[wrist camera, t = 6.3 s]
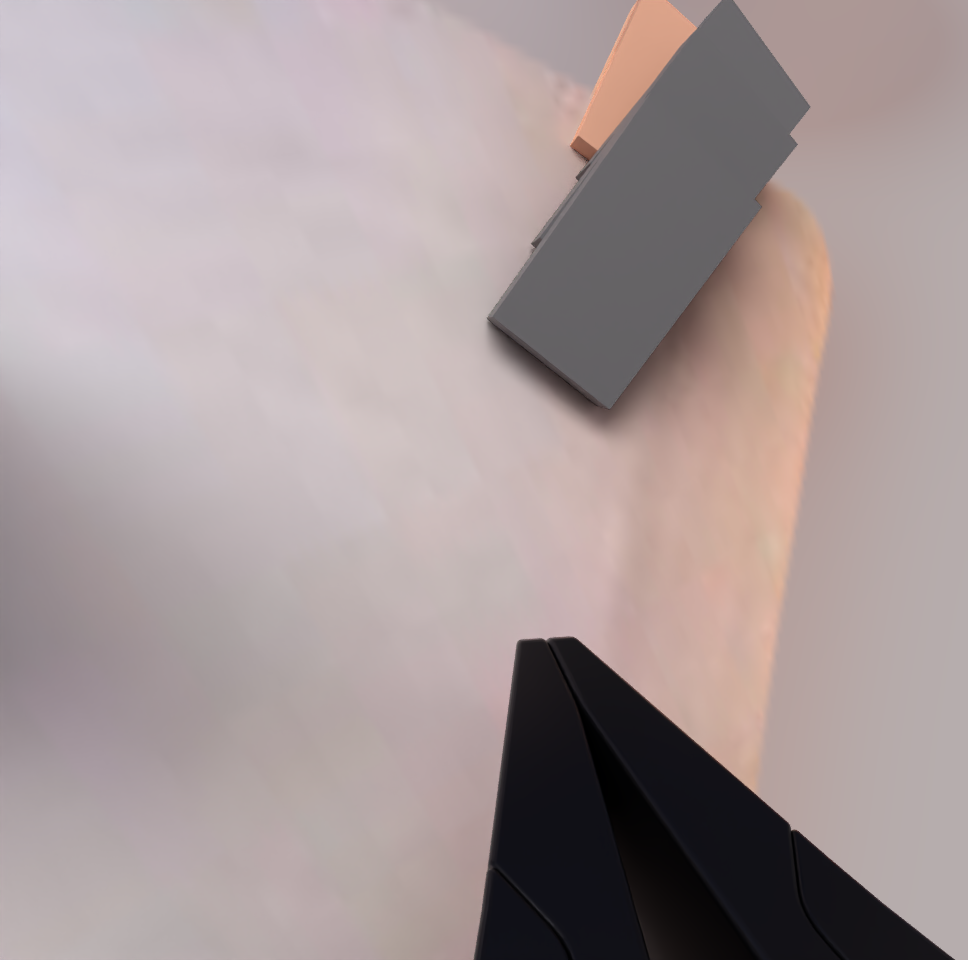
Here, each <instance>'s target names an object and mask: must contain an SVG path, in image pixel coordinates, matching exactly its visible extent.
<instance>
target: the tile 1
mask: <svg viewBox="0 0 968 960" xmlns="http://www.w3.org/2000/svg"><path fill="white" fill-rule="evenodd" d="M761 207H762V206H761V205H760V204H759V203H758V202H757V201H756V200H755V199H754V198H753V197H752V196H751V195H750V194H749V193H748V192H747V191H746V190H745V189H744V188H743V187H742V186H741V185H740V184H739V183H738V182H737V181H736V180H735V179H734V178H733V177H732V175H731V174H730V173H729V172H728V171H727V170H726V169H725V168H724V167H723V166H722V165H721V164H720V163H719V162H718V161H717V160H716V159H715V158H714V157H713V156H712V155H711V154H710V153H709V152H708V151H707V150H706V149H705V148H704V147H703V146H702V145H701V144H700V142H699V141H698V140H697V139H696V138H695V137H694V136H693V135H692V134H691V133H690V132H689V131H688V130H687V129H686V128H685V127H684V126H683V125H682V124H681V123H680V122H679V121H678V120H677V119H676V118H675V117H674V116H673V115H672V114H671V113H670V112H669V111H668V109H667V108H666V107H665V106H664V105H663V104H662V103H661V102H660V101H659V100H658V99H657V98H656V97H655V96H654V95H653V94H652V93H650V94H649V95H648V96H647V97H646V98H645V99H644V100H643V101H642V102H641V103H640V104H639V105H638V106H637V107H636V108H635V109H634V110H633V112H632V113H631V115H630V116H629V117H628V119H627V120H626V122H625V123H624V124H623V126H622V127H621V129H620V130H619V132H618V133H617V134H616V136H615V137H614V139H613V140H612V141H611V143H610V144H609V146H608V147H607V148H606V150H605V151H604V153H603V154H602V156H601V157H600V158H599V160H598V161H597V163H596V164H595V165H594V167H593V168H592V170H591V171H590V173H589V174H588V175H587V177H586V178H585V180H584V181H583V182H582V184H581V185H580V187H579V188H578V190H577V191H576V192H575V194H574V195H573V197H572V198H571V199H570V201H569V202H568V204H567V205H566V207H565V208H564V209H563V211H562V212H561V214H560V215H559V216H558V218H557V219H556V221H555V222H554V224H553V225H552V226H551V228H550V229H549V231H548V232H547V233H546V235H545V236H544V238H543V239H542V241H541V242H540V243H539V245H538V246H537V248H536V249H535V250H534V252H533V253H532V255H531V256H530V258H529V259H528V260H527V262H526V263H525V265H524V266H523V267H522V269H521V270H520V272H519V273H518V275H517V276H516V277H515V279H514V280H513V282H512V283H511V284H510V286H509V287H508V289H507V290H506V292H505V293H504V294H503V296H502V297H501V299H500V300H499V301H498V303H497V304H496V306H495V307H494V309H493V310H492V311H491V313H490V314H489V316H488V317H487V319H488V320H489V321H490V322H492V323H493V324H494V325H496V326H497V327H498V328H499V329H501V330H502V331H503V332H504V333H506V334H507V335H508V336H509V337H511V338H512V339H513V340H515V341H516V342H517V343H518V344H520V345H521V346H522V347H523V348H525V349H526V350H527V351H528V352H530V353H531V354H532V355H534V356H535V357H536V358H537V359H539V360H540V361H541V362H542V363H544V364H545V365H546V366H547V367H549V368H550V369H551V370H552V371H554V372H555V373H556V374H558V375H559V376H560V377H561V378H563V379H564V380H565V381H566V382H568V383H569V384H570V385H571V386H573V387H574V388H575V389H577V390H578V391H579V392H580V393H582V394H583V395H584V396H585V397H587V398H588V399H589V400H590V401H592V402H593V403H594V404H596V405H597V406H600V407H603V408H606V409H611V407H612V406H613V405H614V403H615V402H616V401H617V399H618V398H619V397H620V395H621V394H622V393H623V391H624V390H625V389H626V387H627V386H628V385H629V383H630V382H631V381H632V379H633V378H634V377H635V375H636V374H637V373H638V371H639V370H640V369H641V367H642V366H643V365H644V363H645V362H646V361H647V359H648V358H649V357H650V355H651V354H652V353H653V351H654V350H655V349H656V347H657V346H658V345H659V343H660V342H661V341H662V339H663V338H664V337H665V335H666V334H667V333H668V331H669V330H670V329H671V327H672V326H673V325H674V323H675V322H676V321H677V319H678V318H679V317H680V315H681V314H682V313H683V311H684V310H685V309H686V307H687V306H688V305H689V303H690V302H691V301H692V299H693V298H694V297H695V295H696V294H697V293H698V291H699V290H700V289H701V287H702V286H703V285H704V283H705V282H706V281H707V279H708V278H709V277H710V275H711V274H712V273H713V271H714V270H715V269H716V267H717V266H718V265H719V263H720V262H721V261H722V259H723V258H724V257H725V255H726V254H727V253H728V251H729V250H730V249H731V247H732V246H733V245H734V243H735V242H736V241H737V239H738V238H739V237H740V235H741V234H742V233H743V231H744V230H745V229H746V227H747V226H748V225H749V223H750V222H751V221H752V219H753V218H754V217H755V215H756V214H757V213H758V211H759V210H760V209H761Z"/></svg>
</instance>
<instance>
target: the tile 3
mask: <svg viewBox="0 0 968 960" xmlns="http://www.w3.org/2000/svg"><path fill="white" fill-rule="evenodd" d="M699 27H700V28H701V30H702V31H703V32H704V33H705V34H706V36H707V37H708V38H709V39H710V40H711V42H712V43H713V44H714V45H715V46H716V47H717V49H718V50H719V51H720V52H721V53H722V55H723V56H724V57H725V58H726V59H727V61H728V62H729V63H730V64H731V65H732V67H733V68H734V69H735V70H736V71H737V73H738V74H739V75H740V76H741V77H742V78H743V80H744V81H745V82H746V83H747V84H748V86H749V87H750V88H751V89H752V90H753V92H754V93H755V94H756V95H757V96H758V98H759V99H760V100H761V101H762V102H763V103H764V105H765V106H766V107H767V108H768V109H769V111H770V112H771V113H772V114H773V115H774V117H775V118H776V119H777V120H778V121H779V123H780V124H781V125H782V126H783V127H784V128H785V130H786V131H787V132H788V133H789V134H790V133H791V131H792V130H793V129H794V127H795V126H796V125H797V124H798V122H799V121H800V120H801V119H802V117H803V116H804V115H805V113H806V112H807V111H808V110H809V108H810V106H809V104H808V103H807V102H806V100H805V99H804V97H803V96H802V95H801V93H800V92H799V91H798V89H797V88H796V86H795V85H794V84H793V82H792V81H791V79H790V78H789V77H788V75H787V74H786V73H785V71H784V70H783V68H782V67H781V66H780V64H779V63H778V62H777V60H776V59H775V57H774V56H773V55H772V53H771V52H770V50H769V49H768V48H767V46H766V45H765V44H764V42H763V41H762V39H761V38H760V37H759V35H758V34H757V33H756V31H755V30H754V28H753V27H752V26H751V24H750V23H749V21H748V20H747V19H746V17H745V16H744V15H743V13H742V12H741V11H740V9H739V8H738V6H737V5H736V4H735V2H734V1H733V0H722V1H721V2H720V3H719V4H718V5H717V6H716V7H715V9H713V11H712V12H711V13H710V14H709V15H708V16H707V17H706V19H704V21H703V22H702V23H701V24H700V26H699ZM647 90H648V89H647ZM644 94H645V93H644ZM644 94H643V95H644ZM643 95H642V96H643ZM641 98H642V97H641ZM641 98H640V99H641ZM640 99H639V100H640ZM639 100H638V101H639ZM637 103H638V102H637ZM637 103H636V104H637ZM636 104H635V105H636ZM635 105H634V106H633V108H634V107H635ZM633 108H632V109H633ZM632 109H631V110H630V111H629V113H630V112H631V111H632ZM629 113H628V114H627V115H626V116H625V117H624V119H623V120H622V121H621V122H620V124H619V125H618V126H617V127H616V129H615V130H614V131H613V132H612V133H611V135H610V136H609V137H608V138H607V140H606V141H605V142H604V143H603V144H602V146H601V147H600V148H599V149H598V151H597V152H596V153H595V154H594V155H593V157H592V158H591V159H590V160H589V162H588V163H587V164H586V165H585V167H584V168H583V169H582V170H581V171H580V173H579V174H578V175H577V176H576V179H577V180H578V181H579V180H580V178H581V177H582V176H583V174H584V173H585V172H586V170H587V169H588V168H589V166H590V165H591V164H592V162H593V161H594V160H595V158H596V157H597V156H598V154H599V153H600V152H601V151H602V149H603V148H604V147H605V145H606V144H607V143H608V141H609V140H610V139H611V137H612V136H613V135H614V133H615V132H616V131H617V129H618V128H619V127H620V125H621V124H622V123H623V121H624V120H625V119H626V117H627V116H628V115H629Z"/></svg>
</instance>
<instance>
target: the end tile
mask: <svg viewBox="0 0 968 960" xmlns="http://www.w3.org/2000/svg"><path fill="white" fill-rule="evenodd" d="M696 29H697V28H696V27H695V26H694V25H693V24H692V23H691V22H690V21H689V20H688V19H687V18H686V17H684V16H683V15H682V14H681V13H680V12H679V11H678V10H677V9H676V8H675V7H674V6H672V5H671V4H670V3H669V2H668V1H667V0H637V1H636V3H635V4H634V6H633V7H632V9H631V10H630V12H629V14H628V16H627V18H626V21H625V23H624V25H623V27H622V29H621V31H620V34H619V36H618V38H617V40H616V42H615V44H614V46H613V49H612V51H611V53H610V55H609V57H608V59H607V62H606V64H605V66H604V68H603V70H602V72H601V74H600V76H599V79H598V81H597V83H596V85H595V87H594V89H593V91H592V94H594V96H593V98H592V100H591V102H590V104H589V107H588V109H587V111H586V113H585V115H584V117H583V119H582V122H581V124H580V126H579V128H578V130H577V132H576V135H575V137H574V139H573V141H572V143H571V145H570V146H571V147H572V148H573V149H575V150H576V151H577V152H579V153H580V154H581V155H583V156H584V157H585V158H587V159H588V160H590V159H591V158H592V157H593V155H594V154H595V153H596V152H597V151H598V149H599V148H600V147H601V146H602V144H603V143H604V142H605V141H606V140H607V138H608V137H609V136H610V135H611V133H612V132H613V131H614V130H615V129H616V127H617V126H618V125H619V124H620V122H621V121H622V120H623V119H624V117H625V116H626V115H627V114H628V113H629V111H630V110H631V109H632V108H633V106H634V105H635V104H636V103H637V102H638V100H639V99H640V98H641V97H642V95H643V94H644V93H645V92H646V91H647V89H648V88H649V87H650V86H651V84H652V83H653V82H654V80H655V79H656V78H657V76H658V75H659V74H660V72H661V71H662V70H663V68H664V67H665V66H666V64H667V63H668V62H669V60H670V59H671V58H672V56H673V55H674V54H675V52H676V51H677V50H678V48H679V47H680V46H681V45H682V44H683V43H684V42H685V41H686V40H687V39H688V38H689V36H690V35H691V34H692V33H693V32H694V31H695V30H696Z"/></svg>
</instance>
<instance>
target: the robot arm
mask: <svg viewBox="0 0 968 960" xmlns="http://www.w3.org/2000/svg"><path fill="white" fill-rule="evenodd" d="M474 960H955V959H953V958H952V957H951V956H949V955H948V954H947V953H945V952H944V951H943V950H942V949H940V948H939V947H938V946H937V945H935V944H934V943H933V942H931V941H930V940H929V939H928V938H926V937H925V936H924V935H922V934H921V933H920V932H919V931H918V930H916V929H915V928H914V927H912V926H911V925H910V924H909V923H907V922H906V921H905V920H904V919H902V918H901V917H899V916H898V915H897V914H896V913H894V912H893V911H892V910H891V909H890V908H888V907H887V906H886V905H884V904H883V903H882V902H881V901H880V900H878V899H877V898H876V897H875V896H874V895H872V894H871V893H870V892H869V891H868V890H866V889H865V888H864V887H863V886H862V885H861V884H859V883H858V882H857V881H856V880H854V879H853V878H852V877H851V876H850V875H849V874H847V873H846V872H845V871H844V870H843V869H841V868H840V867H839V866H838V865H837V864H836V863H834V862H833V861H832V860H831V859H830V858H828V857H827V856H826V855H825V854H824V853H823V852H822V851H820V850H819V849H818V848H817V847H816V846H815V845H814V844H812V843H811V842H810V841H809V840H808V839H807V838H806V837H804V836H803V835H802V834H801V833H800V832H799V831H797V830H792V831H791V827H790V825H789V823H788V822H787V821H785V820H784V819H783V818H782V817H781V816H780V815H779V814H778V813H776V812H775V811H774V810H773V809H772V808H771V807H769V806H768V805H767V804H766V803H765V802H764V801H763V800H762V799H760V798H759V797H758V796H757V795H756V794H755V793H753V792H752V791H751V790H750V789H749V788H748V787H747V786H745V785H744V784H743V783H742V782H741V781H740V780H739V779H737V778H736V777H735V776H734V775H733V774H732V773H731V772H729V771H728V770H727V769H726V768H725V767H724V766H723V765H721V764H720V763H719V762H718V761H717V760H716V759H714V758H713V757H712V756H711V755H710V754H709V753H708V752H706V751H705V750H704V749H703V748H702V747H701V746H700V745H698V744H697V743H696V742H695V741H694V740H693V739H692V738H690V737H689V736H688V735H687V734H686V733H685V732H683V731H682V730H681V729H680V728H679V727H678V726H677V725H675V724H674V723H673V722H672V721H671V720H670V719H669V718H667V717H666V716H665V715H664V714H663V713H662V712H661V711H659V710H658V709H657V708H656V707H655V706H654V705H652V704H651V703H650V702H649V701H648V700H647V699H646V698H644V697H643V696H642V695H641V694H640V693H639V692H638V691H636V690H635V689H634V688H633V687H632V686H631V685H630V684H628V683H627V682H626V681H625V680H624V679H623V678H621V677H620V676H619V675H618V674H617V673H616V672H615V671H613V670H612V669H611V668H610V667H609V666H608V665H607V664H605V663H604V662H603V661H602V660H601V659H600V658H599V657H597V656H596V655H595V654H594V653H593V652H592V651H591V650H589V649H588V648H587V647H586V646H585V645H584V644H582V643H581V642H580V641H579V640H578V639H576V638H574V637H554V638H549V639H547V640H546V641H545V640H544V639H542V638H538V639H522V640H519V641H518V642H517V646H516V653H515V661H514V669H513V676H512V684H511V692H510V699H509V707H508V715H507V722H506V730H505V738H504V746H503V753H502V761H501V769H500V776H499V784H498V792H497V799H496V807H495V815H494V823H493V830H492V838H491V846H490V853H489V861H488V871H487V874H486V881H485V889H484V897H483V904H482V912H481V918H480V924H479V930H478V936H477V942H476V948H475V955H474Z"/></svg>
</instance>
